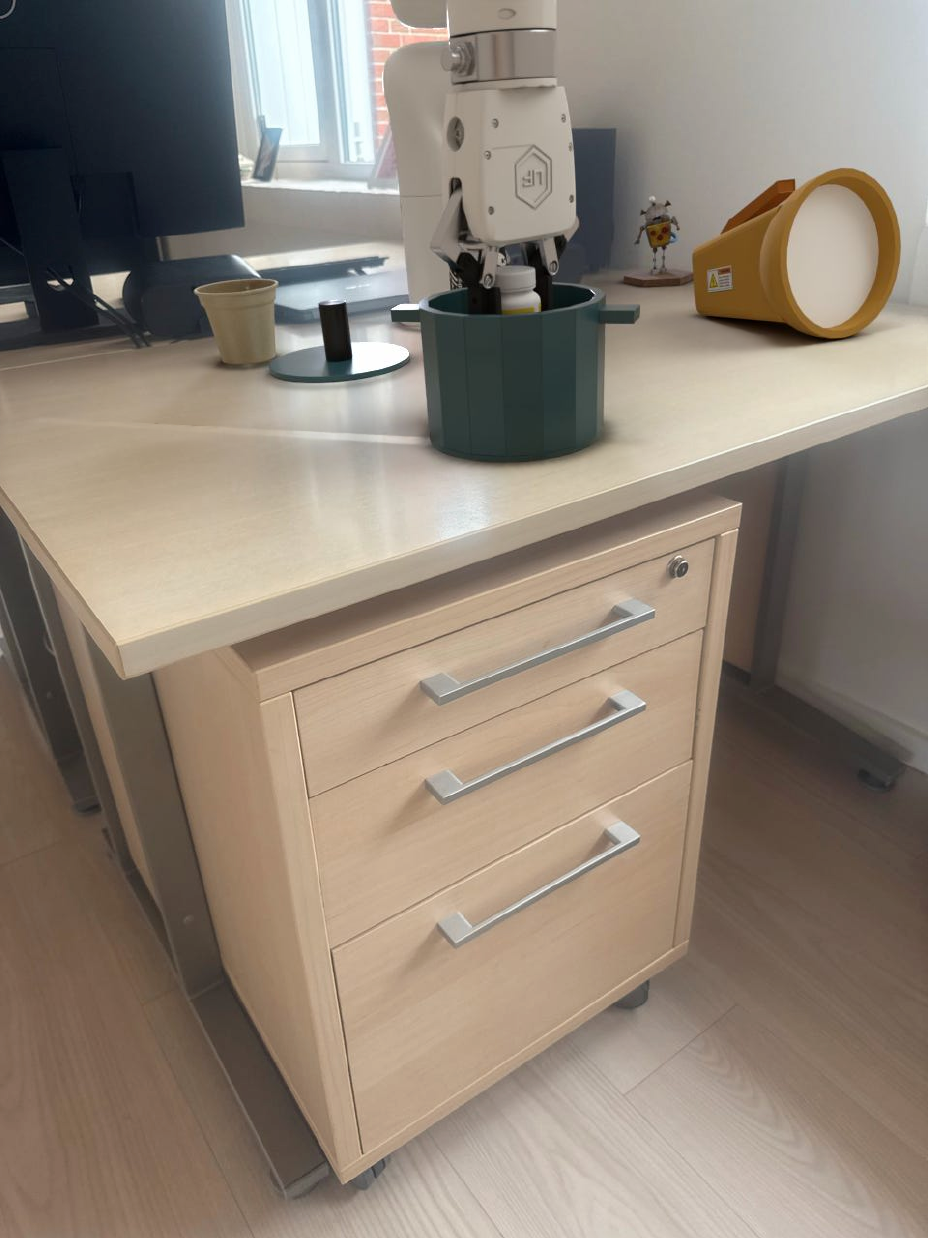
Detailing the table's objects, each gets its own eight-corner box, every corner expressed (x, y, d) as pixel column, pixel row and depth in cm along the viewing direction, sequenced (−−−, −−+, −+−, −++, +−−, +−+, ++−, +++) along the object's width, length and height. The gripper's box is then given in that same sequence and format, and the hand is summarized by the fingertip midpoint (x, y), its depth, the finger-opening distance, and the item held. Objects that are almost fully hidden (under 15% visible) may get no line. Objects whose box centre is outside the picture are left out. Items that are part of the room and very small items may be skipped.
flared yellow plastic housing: (902, 326, 99) (900, 154, 94) (785, 348, 93) (776, 167, 88) (776, 339, 117) (768, 196, 112) (671, 359, 111) (658, 209, 106)
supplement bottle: (505, 367, 75) (501, 263, 71) (553, 373, 73) (552, 265, 69) (473, 381, 72) (467, 272, 68) (521, 387, 70) (519, 275, 65)
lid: (311, 351, 107) (302, 289, 104) (430, 353, 102) (425, 288, 99) (243, 385, 94) (230, 316, 91) (375, 390, 90) (367, 317, 86)
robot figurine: (692, 274, 139) (697, 190, 133) (700, 283, 131) (706, 195, 125) (621, 277, 141) (623, 194, 135) (625, 287, 133) (627, 199, 127)
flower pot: (271, 371, 99) (258, 291, 95) (195, 372, 101) (178, 294, 97) (301, 352, 107) (290, 277, 103) (230, 353, 109) (216, 279, 105)
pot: (436, 404, 84) (427, 282, 78) (647, 412, 77) (652, 280, 72) (373, 454, 72) (357, 315, 67) (615, 469, 66) (619, 317, 60)
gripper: (444, 64, 55) (462, 360, 64) (623, 60, 64) (617, 319, 73) (374, 73, 60) (400, 347, 69) (550, 68, 69) (552, 309, 78)
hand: (511, 330), depth 71 cm, fingers closed on supplement bottle, 4 cm apart
